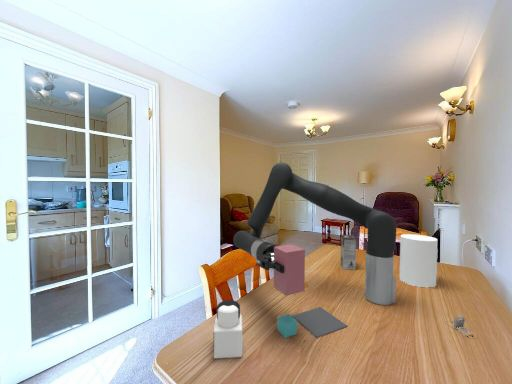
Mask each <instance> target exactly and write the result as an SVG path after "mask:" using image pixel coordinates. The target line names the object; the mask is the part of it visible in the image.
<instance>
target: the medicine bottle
mask: <svg viewBox="0 0 512 384" xmlns="http://www.w3.org/2000/svg"><path fill="white" fill-rule="evenodd" d="M213 326H214V327H213V358H214V359H228V358H229V359H231V358H233V359H234V358H242V357H243V315H242V314H241V305H240V303H239V302H238V301H237V300H234V299H233V300H232V299H226V300H223V301H220V302H219V303H218V304H217V306H216V316H215V321H214V325H213Z"/></svg>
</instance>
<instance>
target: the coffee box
mask: <svg viewBox="0 0 512 384" xmlns="http://www.w3.org/2000/svg"><path fill="white" fill-rule="evenodd" d="M356 256H357V238H356V237H355V235H353V234H341V235H340V265H341V267H343V268H342V270H350V269H353V271H356V264H357V263H356V261H357V259H356V258H357V257H356Z"/></svg>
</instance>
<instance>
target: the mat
mask: <svg viewBox="0 0 512 384" xmlns="http://www.w3.org/2000/svg"><path fill="white" fill-rule="evenodd" d="M291 316H292V317H293V318H295V319H296V320H297V323H299V324H300V325H301V326H303V327H304V328H305V329H306V330H307V331H308V332H310V333H311V334H312V336H314V338H317V339H318V338H321V337H323V336H326V335H330V334H331V333H334V332H336V331H339V330H343V329H344V328H348V325H347V324H346V323H344V322H343V321H341V320H340V319H339V318H337V317H336V316H335V315H333V314H332V313H330V312H328V310H325V309H324V308H323V307H321V306H319V307H316V308H313V309H308V310H305V311H302V312H299V313H295V314H292V315H291Z"/></svg>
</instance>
